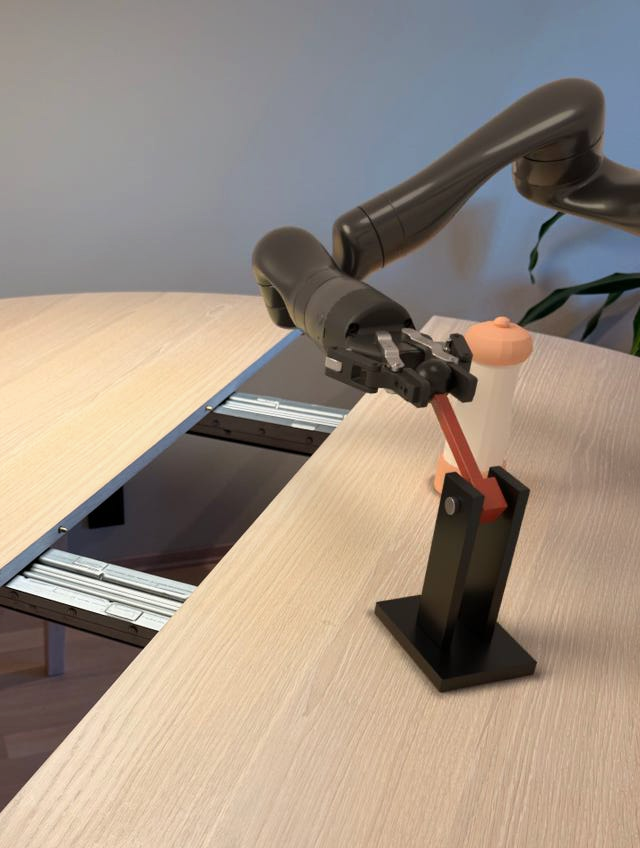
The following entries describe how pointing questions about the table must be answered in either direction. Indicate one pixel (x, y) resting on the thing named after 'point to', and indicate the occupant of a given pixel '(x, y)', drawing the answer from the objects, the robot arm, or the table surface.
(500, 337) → the salt shaker
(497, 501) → the lever
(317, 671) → the table surface
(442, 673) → the bracket
